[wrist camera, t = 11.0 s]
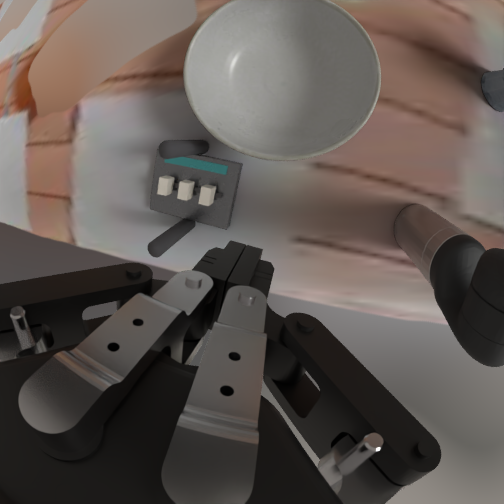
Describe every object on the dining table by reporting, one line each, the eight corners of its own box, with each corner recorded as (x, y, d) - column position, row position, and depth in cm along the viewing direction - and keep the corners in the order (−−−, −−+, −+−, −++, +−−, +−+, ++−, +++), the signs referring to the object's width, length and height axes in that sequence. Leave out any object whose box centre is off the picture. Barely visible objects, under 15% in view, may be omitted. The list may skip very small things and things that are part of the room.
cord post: (196, 218, 52) (163, 243, 40) (194, 230, 53) (161, 259, 41) (183, 215, 53) (148, 239, 40) (182, 227, 54) (147, 254, 41)
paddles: (216, 186, 46) (211, 188, 44) (213, 202, 47) (208, 206, 45) (165, 175, 47) (159, 177, 45) (163, 191, 48) (157, 193, 46)
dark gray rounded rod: (210, 141, 46) (176, 141, 34) (207, 155, 47) (173, 160, 35) (196, 138, 47) (160, 139, 34) (194, 152, 48) (157, 157, 35)
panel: (242, 163, 47) (239, 164, 44) (229, 226, 52) (225, 230, 49) (162, 148, 48) (155, 148, 46) (154, 206, 53) (147, 210, 50)
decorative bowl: (219, 164, 48) (194, 172, 37) (203, 33, 38) (176, 9, 27) (370, 154, 42) (392, 157, 31) (348, 17, 33) (359, -13, 22)
